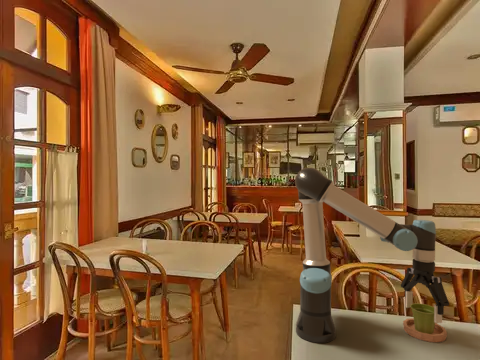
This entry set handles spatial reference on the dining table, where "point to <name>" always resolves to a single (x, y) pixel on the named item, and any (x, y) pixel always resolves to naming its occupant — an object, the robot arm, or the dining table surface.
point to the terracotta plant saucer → (436, 336)
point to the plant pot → (423, 317)
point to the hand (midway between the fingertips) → (422, 314)
